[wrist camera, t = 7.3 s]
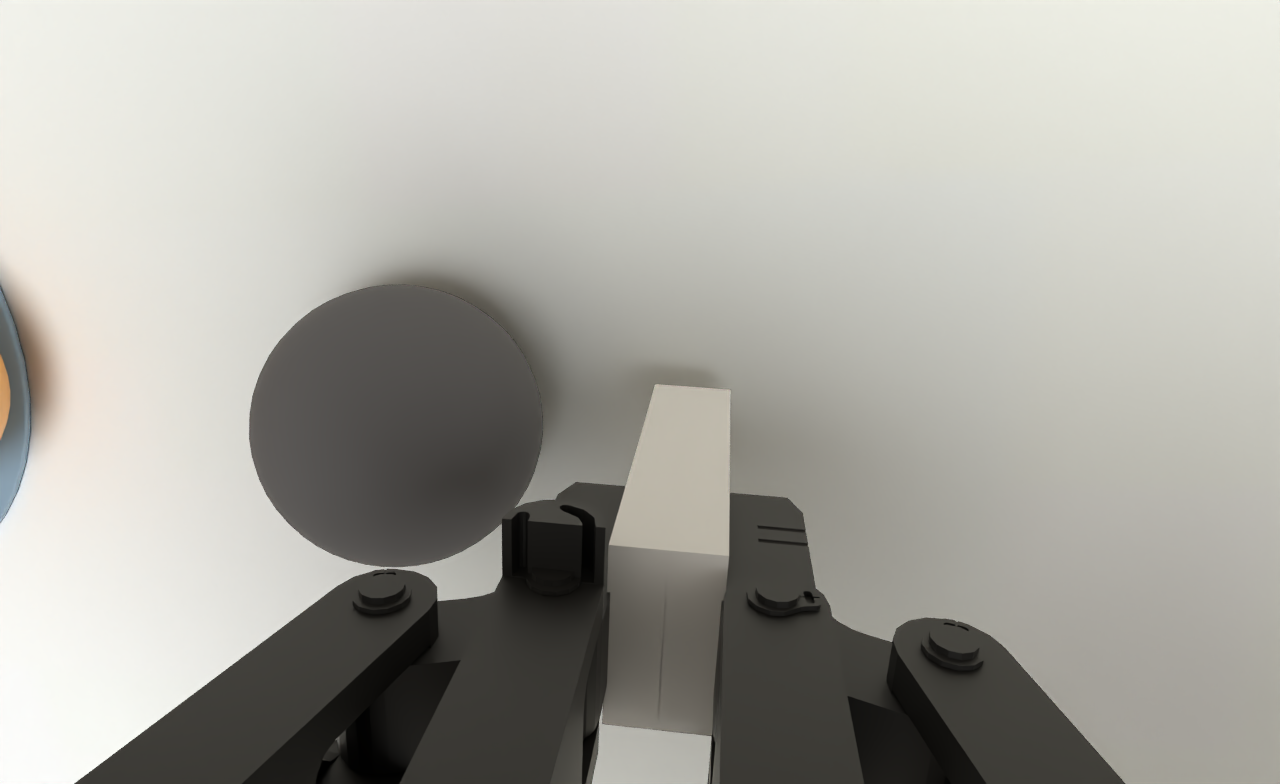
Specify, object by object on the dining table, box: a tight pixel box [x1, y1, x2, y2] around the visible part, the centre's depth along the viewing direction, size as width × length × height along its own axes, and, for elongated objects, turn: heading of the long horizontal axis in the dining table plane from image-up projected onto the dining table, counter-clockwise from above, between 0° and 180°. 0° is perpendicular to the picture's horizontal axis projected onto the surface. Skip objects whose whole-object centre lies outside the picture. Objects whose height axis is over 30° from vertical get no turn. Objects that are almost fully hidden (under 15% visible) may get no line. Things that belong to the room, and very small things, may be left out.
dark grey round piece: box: [249, 285, 543, 567], centre depth 16 cm, size 6×6×6 cm
